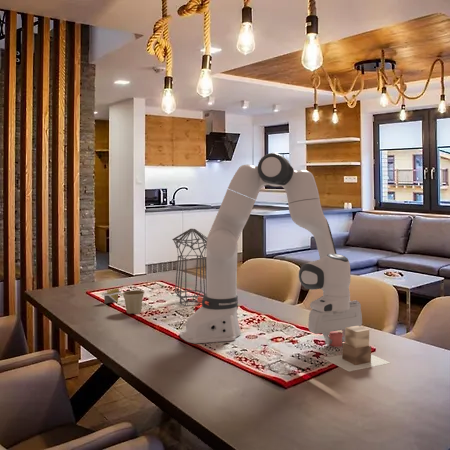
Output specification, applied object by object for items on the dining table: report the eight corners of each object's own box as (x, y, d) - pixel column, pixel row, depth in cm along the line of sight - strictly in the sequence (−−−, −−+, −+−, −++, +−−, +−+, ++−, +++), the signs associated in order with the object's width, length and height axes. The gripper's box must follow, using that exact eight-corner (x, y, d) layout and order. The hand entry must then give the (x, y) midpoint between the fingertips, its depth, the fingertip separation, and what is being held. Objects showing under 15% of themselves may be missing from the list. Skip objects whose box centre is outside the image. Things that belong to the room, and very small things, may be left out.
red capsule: (334, 350, 163) (334, 335, 163) (326, 346, 167) (326, 332, 166) (344, 348, 165) (345, 334, 164) (336, 344, 169) (336, 330, 168)
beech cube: (345, 343, 151) (345, 327, 151) (357, 341, 154) (358, 325, 153) (356, 348, 147) (356, 331, 146) (368, 345, 149) (369, 329, 149)
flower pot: (118, 313, 209) (117, 293, 208) (130, 308, 218) (130, 289, 217) (137, 316, 206) (136, 295, 205) (148, 310, 214) (148, 291, 214)
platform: (135, 301, 233) (135, 287, 232) (105, 309, 219) (105, 294, 218) (119, 298, 240) (118, 284, 240) (88, 305, 226) (88, 291, 225)
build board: (348, 375, 142) (348, 371, 142) (323, 362, 153) (323, 358, 153) (390, 366, 149) (390, 362, 149) (363, 354, 160) (363, 350, 160)
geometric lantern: (170, 301, 232) (171, 227, 230) (201, 299, 238) (202, 227, 235) (179, 308, 217) (180, 229, 215) (213, 306, 223) (214, 229, 221)
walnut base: (355, 365, 147) (355, 349, 146) (342, 358, 152) (342, 343, 152) (370, 362, 149) (371, 346, 149) (357, 356, 155) (357, 340, 154)
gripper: (354, 297, 172) (353, 336, 173) (306, 303, 163) (305, 344, 164) (366, 301, 166) (365, 341, 167) (317, 307, 157) (316, 349, 159)
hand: (335, 342), depth 166 cm, fingers closed on red capsule, 4 cm apart
